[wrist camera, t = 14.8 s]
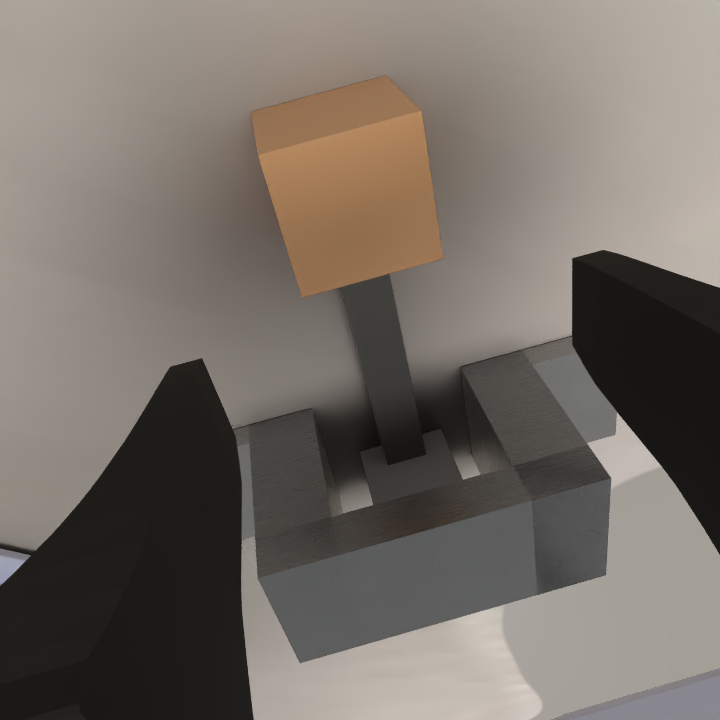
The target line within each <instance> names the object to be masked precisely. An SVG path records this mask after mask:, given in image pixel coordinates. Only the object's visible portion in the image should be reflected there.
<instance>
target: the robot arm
mask: <svg viewBox="0 0 720 720" xmlns="http://www.w3.org/2000/svg"><path fill="white" fill-rule="evenodd" d="M572 346H573V347H574V349H575V351H576V353H577V354H578V356H579V358H580V360H581V361H582V363H583V365H584V367H585V368H586V370H587V372H588V373H589V375H590V377H591V378H592V380H593V381H594V383H595V385H596V386H597V387H598V389H599V390H600V391H601V392H602V394H603V395H604V396H605V397H606V399H607V400H608V401H609V402H610V404H611V405H612V406H613V407H614V409H615V410H616V411H617V412H618V414H619V415H620V416H621V417H622V419H623V420H624V421H625V422H626V423H627V425H628V426H629V427H630V428H631V429H632V431H633V432H634V433H635V434H636V436H637V437H638V438H639V439H640V440H641V442H642V443H643V444H644V445H645V447H646V448H647V449H648V450H649V451H650V453H651V454H652V455H653V456H654V457H655V459H656V460H657V461H658V462H659V464H660V465H661V466H662V467H663V469H664V470H665V471H666V472H667V474H668V475H669V477H670V478H671V479H672V481H673V482H674V483H675V485H676V486H677V488H678V489H679V491H680V492H681V493H682V495H683V497H684V498H685V500H686V501H687V503H688V505H689V506H690V507H691V509H692V511H693V512H694V514H695V515H696V517H697V518H698V520H699V522H700V523H701V525H702V526H703V528H704V529H705V531H706V533H707V534H708V536H709V538H710V539H711V541H712V543H713V544H714V546H715V547H716V549H717V551H718V552H719V554H720V288H719V287H716V286H712V285H709V284H706V283H703V282H700V281H697V280H694V279H691V278H688V277H685V276H682V275H679V274H676V273H673V272H670V271H668V270H665V269H662V268H659V267H656V266H653V265H650V264H647V263H645V262H642V261H639V260H636V259H633V258H630V257H627V256H623V255H620V254H617V253H613V252H609V251H605V250H601V251H598V252H594V253H590V254H587V255H583V256H579V257H576V258H572ZM241 543H242V480H241V471H240V462H239V455H238V448H237V440H236V436H235V434H234V431H233V429H232V427H231V424H230V422H229V420H228V417H227V415H226V413H225V410H224V408H223V406H222V403H221V401H220V399H219V397H218V394H217V392H216V390H215V387H214V385H213V383H212V380H211V378H210V376H209V373H208V371H207V369H206V366H205V364H204V362H203V359H202V358H201V359H198V360H194V361H190V362H186V363H183V364H179V365H175V366H172V367H170V368H169V370H168V371H167V373H166V374H165V376H164V378H163V379H162V381H161V383H160V384H159V386H158V388H157V389H156V391H155V393H154V394H153V396H152V398H151V399H150V401H149V403H148V404H147V406H146V408H145V409H144V411H143V413H142V414H141V416H140V418H139V419H138V421H137V423H136V424H135V426H134V427H133V429H132V431H131V432H130V434H129V435H128V437H127V439H126V440H125V442H124V443H123V444H122V446H121V447H120V449H119V450H118V452H117V453H116V454H115V456H114V457H113V459H112V460H111V462H110V463H109V464H108V466H107V467H106V469H105V470H104V472H103V473H102V474H101V476H100V477H99V479H98V480H97V481H96V483H95V484H94V485H93V487H92V488H91V489H90V490H89V492H88V493H87V494H86V495H85V497H84V498H83V499H82V500H81V502H80V503H79V504H78V505H77V506H76V507H75V509H74V510H73V511H72V512H71V513H70V514H69V516H68V517H67V518H66V519H65V520H64V521H63V523H62V524H61V525H60V526H59V527H58V528H57V529H56V530H55V532H54V533H53V534H52V535H51V536H50V537H49V538H48V539H47V540H46V541H45V542H44V543H43V544H42V545H41V546H40V547H39V548H38V549H37V550H36V551H35V552H34V553H33V554H32V555H27V554H23V553H18V552H14V551H9V550H5V549H0V720H254V719H253V711H252V702H251V693H250V685H249V676H248V667H247V658H246V648H245V637H244V627H243V617H242V601H241ZM552 720H720V669H716V670H713V671H710V672H706V673H703V674H699V675H696V676H693V677H689V678H686V679H682V680H679V681H676V682H672V683H669V684H665V685H662V686H659V687H655V688H652V689H649V690H645V691H642V692H638V693H635V694H631V695H628V696H624V697H621V698H618V699H614V700H611V701H608V702H604V703H601V704H597V705H594V706H591V707H588V708H584V709H580V710H577V711H574V712H570V713H567V714H564V715H562V716H559V717H557V718H555V719H552Z"/></svg>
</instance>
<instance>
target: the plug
mask: <svg viewBox="0 0 720 720" xmlns="http://www.w3.org/2000/svg"><path fill="white" fill-rule="evenodd" d="M251 117H252V123H253V129H254V135H255V141H256V147H257V153H258V157H259V161H260V164H261V167H262V170H263V174H264V177H265V180H266V183H267V187H268V190H269V193H270V196H271V200H272V203H273V206H274V209H275V213H276V216H277V219H278V222H279V226H280V229H281V232H282V235H283V239H284V242H285V245H286V248H287V252H288V255H289V258H290V261H291V265H292V268H293V271H294V274H295V278H296V281H297V284H298V287H299V291H300V294H301V297H302V298H303V297H307V296H311V295H314V294H318V293H321V292H325V291H329V290H332V289H336V288H339V287H340V288H341V292H342V296H343V300H344V304H345V308H346V311H347V315H348V319H349V323H350V327H351V330H352V334H353V338H354V342H355V346H356V349H357V353H358V357H359V361H360V365H361V369H362V372H363V376H364V380H365V384H366V388H367V391H368V395H369V399H370V403H371V407H372V410H373V414H374V418H375V422H376V426H377V430H378V433H379V437H380V441H381V446H378V447H374V448H371V449H367V450H364V451H360V455H361V459H362V463H363V467H364V470H365V474H366V478H367V482H368V486H369V489H370V493H371V497H372V501H373V505H376V504H379V503H383V502H386V501H390V500H394V499H397V498H401V497H404V496H408V495H411V494H415V493H419V492H422V491H426V490H429V489H433V488H436V487H440V486H443V485H447V484H451V483H454V482H458V481H461V480H463V479H462V477H461V474H460V472H459V470H458V467H457V465H456V463H455V460H454V458H453V456H452V454H451V451H450V449H449V447H448V444H447V442H446V440H445V437H444V435H443V433H442V430H441V429H438V430H434V431H431V432H427V433H423V434H422V431H421V426H420V421H419V416H418V412H417V407H416V402H415V397H414V392H413V387H412V382H411V378H410V373H409V368H408V363H407V358H406V353H405V348H404V344H403V339H402V334H401V329H400V324H399V319H398V315H397V310H396V305H395V300H394V295H393V290H392V285H391V281H390V276H389V274H390V273H393V272H397V271H401V270H404V269H408V268H411V267H415V266H419V265H422V264H426V263H429V262H433V261H437V260H440V259H443V254H442V247H441V240H440V233H439V227H438V220H437V213H436V206H435V199H434V192H433V185H432V179H431V172H430V165H429V158H428V151H427V144H426V137H425V131H424V124H423V117H422V111H421V110H420V109H419V108H418V107H417V106H416V105H415V104H414V103H413V102H412V101H411V100H410V99H409V98H408V97H407V96H406V95H405V94H404V93H403V92H402V91H401V90H400V89H399V88H398V87H397V86H396V85H395V84H394V83H393V82H392V81H391V80H390V79H389V78H388V77H387V76H382V77H378V78H375V79H371V80H367V81H363V82H360V83H356V84H352V85H349V86H345V87H341V88H337V89H334V90H330V91H326V92H323V93H319V94H315V95H312V96H308V97H304V98H300V99H297V100H293V101H289V102H286V103H282V104H278V105H274V106H271V107H267V108H263V109H260V110H256V111H252V112H251Z"/></svg>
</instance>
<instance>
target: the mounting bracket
mask: <svg viewBox="0 0 720 720" xmlns="http://www.w3.org/2000/svg"><path fill="white" fill-rule="evenodd" d="M461 374H462V382H463V390H464V397H465V405H466V412H467V420H468V427H469V435H470V443H471V450H472V457H473V459H474V461H475V463H476V465H477V467H478V470H479V472H480V474H481V475H479V476H475V477H472V478H468V479H465V480H461V481H458V482H454V483H451V484H447V485H443V486H440V487H436V488H433V489H429V490H426V491H422V492H419V493H415V494H411V495H408V496H404V497H401V498H397V499H394V500H390V501H386V502H383V503H379V504H376V505H372V506H369V507H365V508H362V509H358V510H354V511H351V512H347V513H344V514H343V510H342V506H341V501H340V496H339V492H338V489H337V486H336V483H335V480H334V477H333V474H332V471H331V468H330V465H329V462H328V458H327V455H326V452H325V449H324V446H323V443H322V440H321V437H320V434H319V431H318V428H317V425H316V422H315V418H314V415H313V412H312V409H311V408H310V409H307V410H303V411H300V412H296V413H292V414H289V415H285V416H281V417H278V418H274V419H270V420H267V421H263V422H260V423H256V424H252V425H249V426H245V427H241V428H238V429H234V430H233V431H234V434H235V436H236V440H237V448H238V455H239V462H240V471H241V480H242V539H246V538H249V537H253V536H255V542H256V558H257V574H258V580H259V582H260V584H261V586H262V588H263V590H264V592H265V594H266V596H267V598H268V600H269V602H270V604H271V606H272V608H273V610H274V612H275V614H276V616H277V618H278V620H279V622H280V624H281V626H282V628H283V630H284V632H285V634H286V636H287V638H288V640H289V642H290V644H291V646H292V648H293V650H294V652H295V654H296V656H297V658H298V660H299V662H300V663H302V662H306V661H309V660H313V659H316V658H320V657H323V656H327V655H330V654H334V653H337V652H341V651H344V650H348V649H351V648H354V647H358V646H361V645H365V644H368V643H372V642H375V641H379V640H382V639H386V638H389V637H393V636H396V635H400V634H403V633H407V632H410V631H414V630H417V629H420V628H424V627H427V626H431V625H434V624H438V623H441V622H445V621H448V620H452V619H455V618H459V617H462V616H466V615H469V614H473V613H476V612H480V611H483V610H486V609H490V608H493V607H497V606H500V605H504V604H507V603H511V602H514V601H518V600H521V599H525V598H528V597H532V596H535V595H539V594H542V593H545V592H549V591H552V590H556V589H559V588H563V587H566V586H570V585H573V584H577V583H580V582H584V581H587V580H591V579H594V578H597V577H601V576H604V575H606V564H607V545H608V527H609V508H610V489H611V477H610V476H609V475H608V473H607V472H606V470H605V469H604V467H603V466H602V464H601V463H600V462H599V460H598V459H597V457H596V456H595V454H594V453H593V451H592V450H591V449H590V447H589V446H588V444H587V443H588V442H591V441H595V440H598V439H602V438H605V437H609V436H613V435H615V432H616V415H617V411H616V410H615V409H614V407H613V406H612V405H611V404H610V402H609V401H608V400H607V399H606V397H605V396H604V395H603V394H602V392H601V391H600V390H599V389H598V387H597V386H596V385H595V383H594V381H593V380H592V378H591V377H590V375H589V373H588V372H587V370H586V368H585V367H584V365H583V363H582V361H581V360H580V358H579V356H578V354H577V353H576V351H575V349H574V347H573V346H572V337H568V338H565V339H561V340H557V341H554V342H550V343H547V344H543V345H539V346H536V347H532V348H528V349H525V350H521V351H517V352H514V353H510V354H507V355H503V356H499V357H496V358H492V359H488V360H485V361H481V362H478V363H474V364H470V365H467V366H463V367H461Z"/></svg>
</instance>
